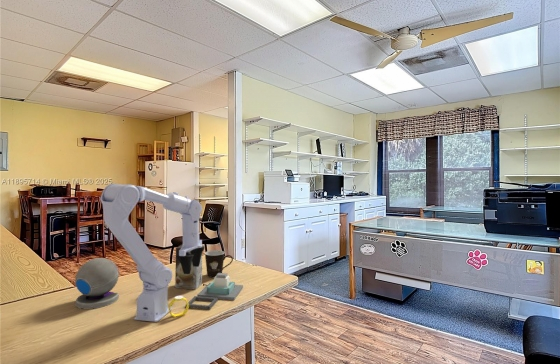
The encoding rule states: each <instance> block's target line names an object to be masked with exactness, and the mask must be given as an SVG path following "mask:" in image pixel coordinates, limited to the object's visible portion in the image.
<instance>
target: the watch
mask: <svg viewBox="0 0 560 364" xmlns="http://www.w3.org/2000/svg"><path fill="white" fill-rule="evenodd" d="M181 301H185V302H186V304H187V307H186V306H185V309H184V311H183V312H180V313H175V314H174V313H173V312H172V311H171V310H172V309H171V307H173V305H174V303H176V302H181ZM188 302H189V301H188V300H187V298H186V297H184V295H176V296H174V298H173V300H171V301H170V303H168V307H169V312H168V313H169V314H170V316H172V317H173V318H177V317H182V316H185V315H186V313H187V312H188V311H189V309H190V308H189V303H188Z"/></svg>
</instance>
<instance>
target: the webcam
mask: <svg viewBox="0 0 560 364" xmlns="http://www.w3.org/2000/svg"><path fill="white" fill-rule="evenodd" d="M119 275H120V271H119V267H118V266H117V264H116V263H115V262H114V261H112V260H111V259H109V258H104V257H95V258H92V259H89V260H88V261H86V262H85V263H83V264H82V265H81V266H80V267H79V268H78V271H77V273H76V275H75V279H74V281H75V282H74V283H75V287H76V289H77V290H78V292H79V293H81V295H79V296H78V297H77V298H76V299H75V307H76V306H77V307H79V308H78V309H81V308H84V309H83V310H93V308H94V309H99V308H102V307H107V306H108V305H109V306H110V305H111V304H114V303H116V302H117V301H118V300H119V299H120V294H119V292H113V291H111V290H113V288H115V287H116V285H117V284H118V281H119ZM77 307H76V308H77Z"/></svg>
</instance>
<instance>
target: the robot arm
mask: <svg viewBox="0 0 560 364" xmlns="http://www.w3.org/2000/svg"><path fill="white" fill-rule="evenodd" d="M102 190H103V191H102V193H101V195H100V198H99V200H100V202H101V204H102V209H103V211H102V213H103V221H104V223H105V225H106V226H107V228H108V229H109V230H110V231H111V232H110V233H112V234H113V236H114V237H115V238H116V240H117V241H118V242H119V243H120V244H121V246H122V247H123V249H124V250H125V251H126V252H127V254H128V255H129V257H131V259H132V260H133V261H134V263H135V264H136V265H137V266H136V270H137V273H138V278H139V279H140V281H142V287H143V288H142V291H141V293H140V294H139V295H138V297H137V298H136V316H135V317H134V318H133V320H136V321H142V322H143V321H144V322H145V321H147V322H154V323H155V322H156V323H157V322H160V321H161V319H163V318H164V317H165V316H166V315H167V314H169V313H170V312H169V305H168V287H169V284H170V283H171V282H172V279H173V271H172V269H171V268H170V267H167V266H165V265H164V263H162V261H160V260H159V259H158V258H156V257H155V256H154V255H153V253H152V252H151V250H150V249H149V247H148V246H147V244H146V243H145V242H144V241H143V239H142V238H141V236H140V234H139V233H138V232H137V231H136V229H135V227H134V226H133V225H132V223H130V221H129V216H130V215H131V213H132V211H133V209H134V208H135V207H136V205H137V204H138V202H140V203H141V202H143V201H146V202H147V201H148V202H152V203H156V204H159V205H162V207H163V208H164V209H165V210H167V211H170V212H175V213H179V214H180V215H181V221H182V227H181V229H182V244H183V245H182V244H181V245H182V247H181V249H180V250H179V254H177V258H178V260H179V261H180V263H181V266H182V269H183V273H184V274H190V272H191V263H192V264H193V267H199V265H200V260H201V256H202V257H203V252H204V250H205V249H206V247H205V246H204V245H203V239H200V219H201V213H202V212H203V206H202V204H201V203H200V202H199V200H196V199H190V197H189V196H181V195H179V192H169V193H167V194H164V193H161V192H158V191H155V190H152V189H150V188H147V187H143V186H140V185H139V186H138V185H133V184H120V183H119V184H118V183H110V184H107V185H106V186H105V187H104V188H103V189H102ZM189 252H190V253H191V255H190V254H189ZM173 308H174V307H173V306H171V310H173Z"/></svg>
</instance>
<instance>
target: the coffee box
mask: <svg viewBox="0 0 560 364" xmlns="http://www.w3.org/2000/svg"><path fill="white" fill-rule="evenodd" d="M182 245H183V243H182V244H180V245H178V246H177V247H176V248H175V270H174V271H175V274H174V276H175V278H174V279H175V280H174V281H175V282H174V288H175V289H184V290H185V289H188V290H197V289H198V288H199V287H200V286H201V285H202V283H203V255H202V256H201V260H200V265H199V267H193V264H192V263H191V272H190V274H184V273H183V269H182V266H181V263H180V261H179V260H178V258H177V254H179V250H180V249H181V247H182ZM189 254H190V255H191V253H190V252H189Z"/></svg>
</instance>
